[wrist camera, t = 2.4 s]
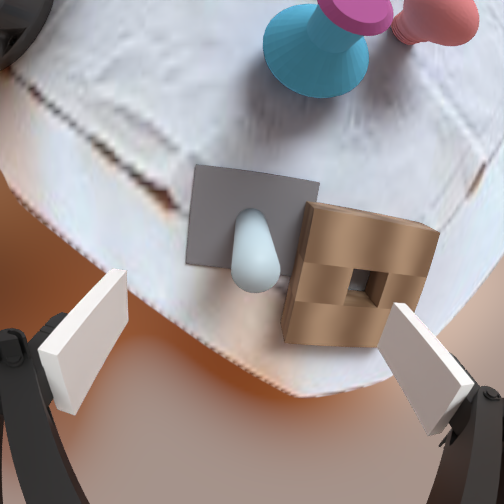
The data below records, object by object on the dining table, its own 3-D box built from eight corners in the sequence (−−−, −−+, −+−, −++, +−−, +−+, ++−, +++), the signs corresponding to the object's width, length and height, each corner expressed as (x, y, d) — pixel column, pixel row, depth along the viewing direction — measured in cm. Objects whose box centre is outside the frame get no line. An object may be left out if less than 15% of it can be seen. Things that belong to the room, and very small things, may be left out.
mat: (186, 261, 32) (186, 262, 31) (196, 164, 28) (195, 164, 28) (300, 275, 33) (300, 277, 32) (318, 182, 29) (319, 182, 29)
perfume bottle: (257, 21, 24) (269, -66, 10) (347, 26, 24) (415, -39, 10) (261, 104, 27) (280, 63, 13) (354, 107, 27) (440, 83, 13)
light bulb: (391, 67, 25) (457, 40, 14) (361, 11, 23) (412, -38, 12) (436, 57, 25) (505, 35, 13) (409, 4, 22) (467, -34, 11)
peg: (233, 235, 31) (228, 289, 19) (237, 206, 30) (234, 244, 18) (263, 239, 31) (275, 295, 19) (268, 210, 30) (284, 250, 18)
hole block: (280, 322, 34) (284, 343, 31) (305, 200, 30) (314, 208, 26) (387, 329, 35) (399, 347, 32) (421, 222, 31) (440, 232, 27)
